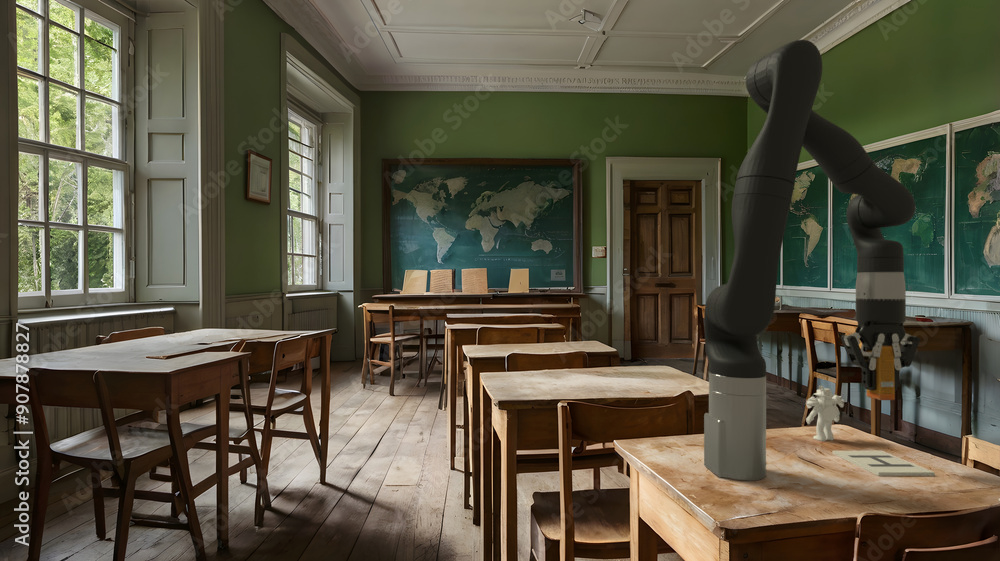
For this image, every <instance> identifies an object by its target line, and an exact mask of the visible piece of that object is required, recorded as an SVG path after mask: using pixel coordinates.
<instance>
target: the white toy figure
mask: <svg viewBox="0 0 1000 561" xmlns="http://www.w3.org/2000/svg"><path fill="white" fill-rule="evenodd" d="M831 390H832V389H831V388H826V387H824V385H818V389H816V392H815V393H813V394H812V395H811V396H810V398H808V399H807V400H805V405H806V407H807V409H811V408H813V409H812V410H811V411H810V413H809V414H808V416H807V417H806V418H805V421H806V423H807V425H810V424H811V422H812V421H814V420H815V418H814V417H816V416H817V421H816V428H815V431H816V435H813V440H816V441H821V442H827V441H834V433H833V431H832V425H833V421H834V422H835V423H839V421H840V410H839V408H838V406H839V407H840V408H844V406H845V399H843V398H842V395H838V394H835V393H832V391H831ZM814 395H815V396H814ZM837 405H838V406H837Z"/></svg>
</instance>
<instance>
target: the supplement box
mask: <svg viewBox="0 0 1000 561" xmlns="http://www.w3.org/2000/svg"><path fill="white" fill-rule="evenodd" d="M868 352H872V351H868ZM874 370H875V371H876V390H867V389H866V397H867V398H872V399H873V400H878V401H895V399H896V398H895V397H896V396H895V395H896V393H895V392H896V390H895V381H894V356H893V351H892V347H891V346H882V348H881V353H880V357H879V358H878V359H877V363H876V368H875V369H874Z"/></svg>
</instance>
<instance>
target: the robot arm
mask: <svg viewBox="0 0 1000 561" xmlns="http://www.w3.org/2000/svg"><path fill="white" fill-rule="evenodd" d="M822 76H823V59H822V55H821V52H820V50H819V48H818V47H817V45H815V44H814V43H813V42H812V41H810V40H807V39H798V40H797V39H796V40H794V41H790V42H788V43H786V44H784V45H782V46H779V47H778V48H776V49H775V50H773V51H771V52H770V53H767V54H766V55H764V56H762V57H761V58H759V59H757V60H756V61H755V62H753V63H752V64H751V66H749V68H748V71H747V72H746V76H745V87H746V90H747V93H748V94H749V96H750V98H751V99H752V101H753V102H754V103H755V104H757V106H758V107H759V108H760V109H761V110H763V112H764V113H766V114H767V115H766V118H765V121H764V124H763V126H762V128H761V130H760V132H759V133H758V135H757V137H756V139H755V140H754V142H753V143H752V145H751V147H750V148H749V150H748V152H747V153H746V155H745V157H744V159H743V160H742V163H741V165H740V167H739V170H738V173H737V176H736V182H735V186H734V190H733V195H732V201H731V222H732V224H731V225H732V230H733V231H732V232H733V238H734V239H733V240H734V254H733V261H732V265H731V268H730V272H729V277H728V280H727V283H725V284H722V285H719V286H717V287H715V288H714V289H713V290H712V291H710V293H709V294H708V296H707V298H706V300H705V306H704V318H703V322H704V323H703V324H704V346H705V347H704V349H705V354H706V358H707V362H708V412H705V413H704V416H703V418H704V419H703V422H704V423H703V428H704V429H703V430H704V431H703V434H704V435H703V436H704V437H703V441H704V442H703V465H704V466H705V467H706V469H708V470H710V471H711V472H712V473H713V474H715V475H716V476H717V477H719V478H727V479H728V478H729V479H733V480H738V481H758V480H762V479H764V478H765V477H766V476H767V362H766V360H765V358H764V357H763V355H762V353H761V352H760V349H759V345H758V336H759V335H760V334H761V333H763V332H764V331H765V330H767V329H768V326H770V323H771V322H772V319H773V317H774V313H775V308H776V306H775V305H776V296H777V294H776V292H777V284H778V283H777V280H778V270H779V263H780V262H779V261H780V256H781V255H780V254H781V250H782V245H783V242H784V237H785V232H786V226H787V222H788V221H787V220H788V217H789V213H790V209H791V208H790V207H791V204H792V199H793V195H794V188H795V184H796V179H797V178H796V176H797V171H798V164H799V160H800V157H801V154H802V153H801V152H802V148H804V150H805V151H806V152H807V153H808V154H809V155H810V156H811V157H812V159H813V160H814V161H815V162H816V163H817V165H818V166H819V167H820V169H821V170H822V171H823V173H824V174H825V175H826V177H827V178H828V179H829V180H830V182H831V184H833V186H834V187H835V188H836V189H837V191H839V192H840V193H842V194H850V195H855V196H854V197H852V199H850V201H849V203H848V204H847V209H846V221H847V224H848V225H847V226H848V228H849V230H850V235H851V237H852V242H853V244H854V246H855V249H856V254H857V256H856V260H857V262H856V267H857V268H856V272H857V273H856V280H855V321H856V322H857V327H856V328H855V332H853V333H851V334H843V335H841V336H840V340H841V342H842V345H843V347H844V349H845V353H846V354H847V357H848V360H849V362H850V364H851V365H852V366H853V365H854V366H856V367H859V368H860V369H861V385H862V386H863V388H864V389H865V390H866V391H867V390H876V371H875V370H874V369H875V368H876V363H877V359H878V358H879V357H880V353H881V348H882V346H891V347H892V351H893V356H894V381H895V391H898V388H899V386H900V370H901V369H902V368H909V367H911V365H912V362H913V360H914V358H915V355H916V352H917V350H918V347H919V345H920V342H921V337H919V336H915V335H911V334H908V333H906V330H905V327H904V323H906V322H907V319H906V318H907V316H906V314H907V312H906V310H907V309H906V308H907V307H906V306H907V305H906V298H907V296H906V292H907V291H906V279H905V273H904V272H905V270H904V268H905V266H904V263H905V261H904V260H905V259H904V257H905V256H904V247H903V244H902V243H901V242H899V241H896V240H892V239H886V238H884V235H883V233H882V230H881V229H882V228H890V227H898V226H901V225H902V226H903V225H905V224H906V223H908V222H910V220H912V218H913V217H914V215H915V212H916V202H915V198H914V196H913V195H912V193H911V192H910V190H909V189H908V188H907V187H906V186H905V185H904V184H902V183H901V182H900V181H898V180H897V179H896V178H894V176H892V175H890V174H889V172H886V171H885V170H883V169H882V168H881V167H879V166H878V165H877V164H876V163H875V161H874V160H873V159H872V158H871V157H870V155H869V154H868V152H867V151H866V150H865V148H864V146H863V145H862V144H861V143H860V141H859V140H857V138H855V136H853V135H852V134H851V133H849V132H848V131H847V130H845V129H844V128H842V127H840V126H838V125H837V124H835V123H833V122H831V121H829V120H828V119H826V118H825V117H823V116H821V115H820V114H818V113H817V112H816V111H814V110H813V107H814V104H815V100H816V97H817V94H818V91H819V88H820V84H821V80H822ZM860 344H861V346H860ZM868 351H872V352H868Z"/></svg>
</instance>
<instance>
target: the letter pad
mask: <svg viewBox="0 0 1000 561" xmlns="http://www.w3.org/2000/svg"><path fill="white" fill-rule="evenodd" d="M832 455H835V456H836V457H838V458H840V459H842V460H845V461H847V462H849V463H851V464H852V465H855V466H857V467H859V468H861V469H863V470H865V471H867V472H870V473H872V474H874V475H875V476H878V477H894V476H895V477H900V476H901V477H932V476H933V477H935V476H936V474H935V471H933V470H930V469H927V468H925V467H923V466H920V465H917V464H915V463H913V462H910V461H908V460H905V459H903V458H901V457H898V456H895V455H894V454H891V453H888V452H886V451H884V450H832Z"/></svg>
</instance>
